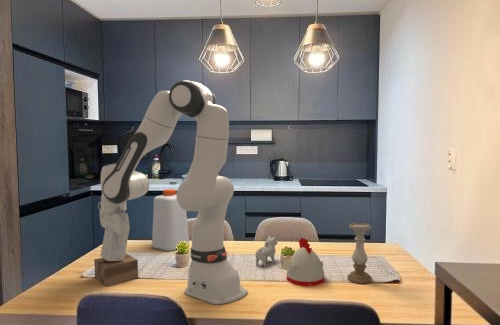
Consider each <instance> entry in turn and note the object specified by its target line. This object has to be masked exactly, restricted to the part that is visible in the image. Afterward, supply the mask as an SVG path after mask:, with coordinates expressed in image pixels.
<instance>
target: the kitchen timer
mask: <svg viewBox="0 0 500 325" xmlns="http://www.w3.org/2000/svg"><path fill="white" fill-rule="evenodd" d="M308 240H309V239H306V238H303V237H300V239H299V240H298V245H299V249H297V250H296V251H295V252H294V253H293V255H292V256H291V257H290V260H287V266H286V281H287V282H288V283H290V284H292V285H294V286H295V285H296V286H300V287H301V286H302V287H316V286H319V285H321V284H324V282H325V272H324V268H323V267H324V262H323V260H320V257H319V256H318V254H317V253H316V252H315V251H314V250H313V248H312V247H311V246H310V245H311V244H310V243H308Z"/></svg>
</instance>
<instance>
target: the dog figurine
mask: <svg viewBox="0 0 500 325" xmlns="http://www.w3.org/2000/svg"><path fill="white" fill-rule="evenodd" d="M278 244H279V243H278V240H277V237H275V236H273V237H271V235H268V237H267V238H266V241H265V242H264V245H263V247H262V246H261V247H259V249H257V250H256V251H255V266H259V261H261V262H262V263H263V264H262V265H263V268H266V267H267V262H268V258H269V257H270V259H271V262H272V263H273V264H274V263H275V264H276V260H275V254H276V246H277V245H278Z"/></svg>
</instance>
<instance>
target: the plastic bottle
mask: <svg viewBox="0 0 500 325" xmlns="http://www.w3.org/2000/svg"><path fill="white" fill-rule="evenodd" d="M176 193H177V190H176V189H171V188H170V189H169V188H167V189H163V191H162V194H161V195H157V196H155V197H154V199H153V212H152V213H153V214H152V215H153V216H152V233H151V234H152V236H151V237H152V238H151V239H152V240H151V245H152V248H154V249H155V250H156V249H157V250H161V251H166V252H172V251H177V250H176V246H177V244H178V243H179V242H180V241H186V242H188V243H190V239H189V238H190V237H189V228H188V226H189V225H188V217H187V214H188V213H187V211H186V210H184V209H182V208H181V207H180V205H179V204H178V202H177V198H176Z"/></svg>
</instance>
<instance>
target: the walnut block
mask: <svg viewBox="0 0 500 325" xmlns="http://www.w3.org/2000/svg"><path fill="white" fill-rule="evenodd" d="M93 262H94V263H93V264H94V278H95V279H96V280H98V281H99V282H100V283H101V284H103V285H104V287H110V286H112V285H117V284H121V283H125V282H128V281H133V280H136V279H137V280H138V279H139V265H138V264H139V263H138V259H137V258H135V257H133V256H132V255H129V254H128V253H126V252H125V258H124V261H107V260H106V259H104V258H102V257H99V258H95V259H94V260H93Z"/></svg>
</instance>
